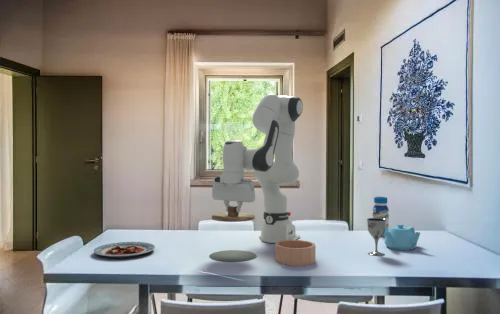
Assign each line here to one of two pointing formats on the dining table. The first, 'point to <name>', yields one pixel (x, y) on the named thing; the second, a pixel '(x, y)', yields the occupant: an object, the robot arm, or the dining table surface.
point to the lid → (233, 216)
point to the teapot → (401, 237)
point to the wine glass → (376, 232)
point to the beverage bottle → (381, 209)
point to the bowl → (295, 252)
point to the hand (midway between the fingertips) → (233, 211)
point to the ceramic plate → (124, 249)
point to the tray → (233, 256)
